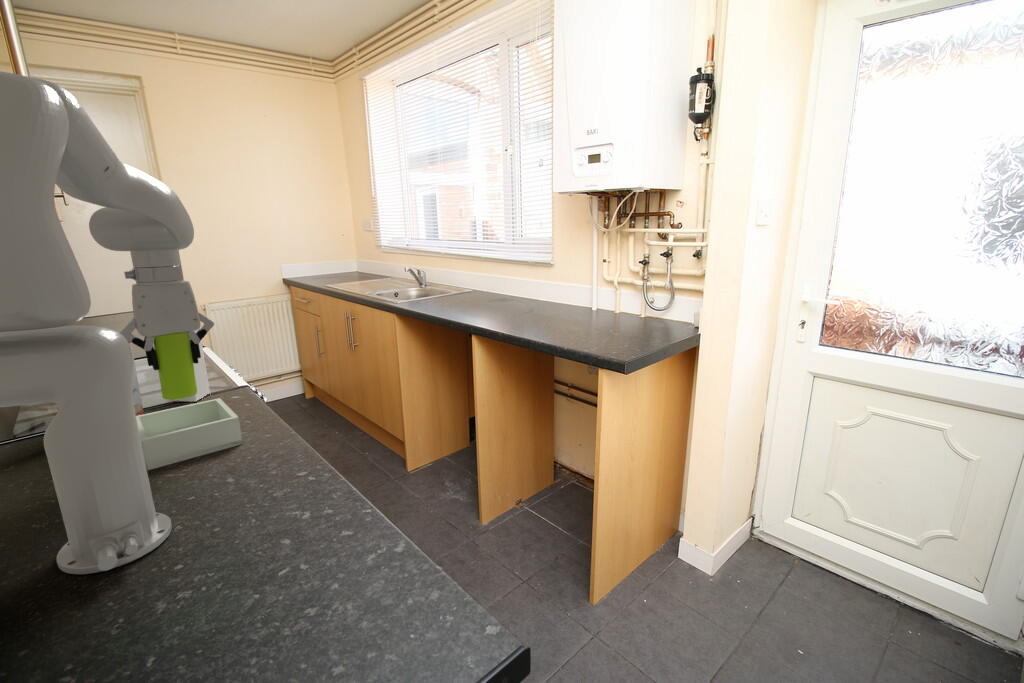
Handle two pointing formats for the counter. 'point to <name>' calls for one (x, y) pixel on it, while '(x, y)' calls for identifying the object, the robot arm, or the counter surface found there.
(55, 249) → the robot arm
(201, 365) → the milk
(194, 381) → the soap dispenser
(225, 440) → the tub
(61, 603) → the counter surface
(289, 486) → the counter surface
